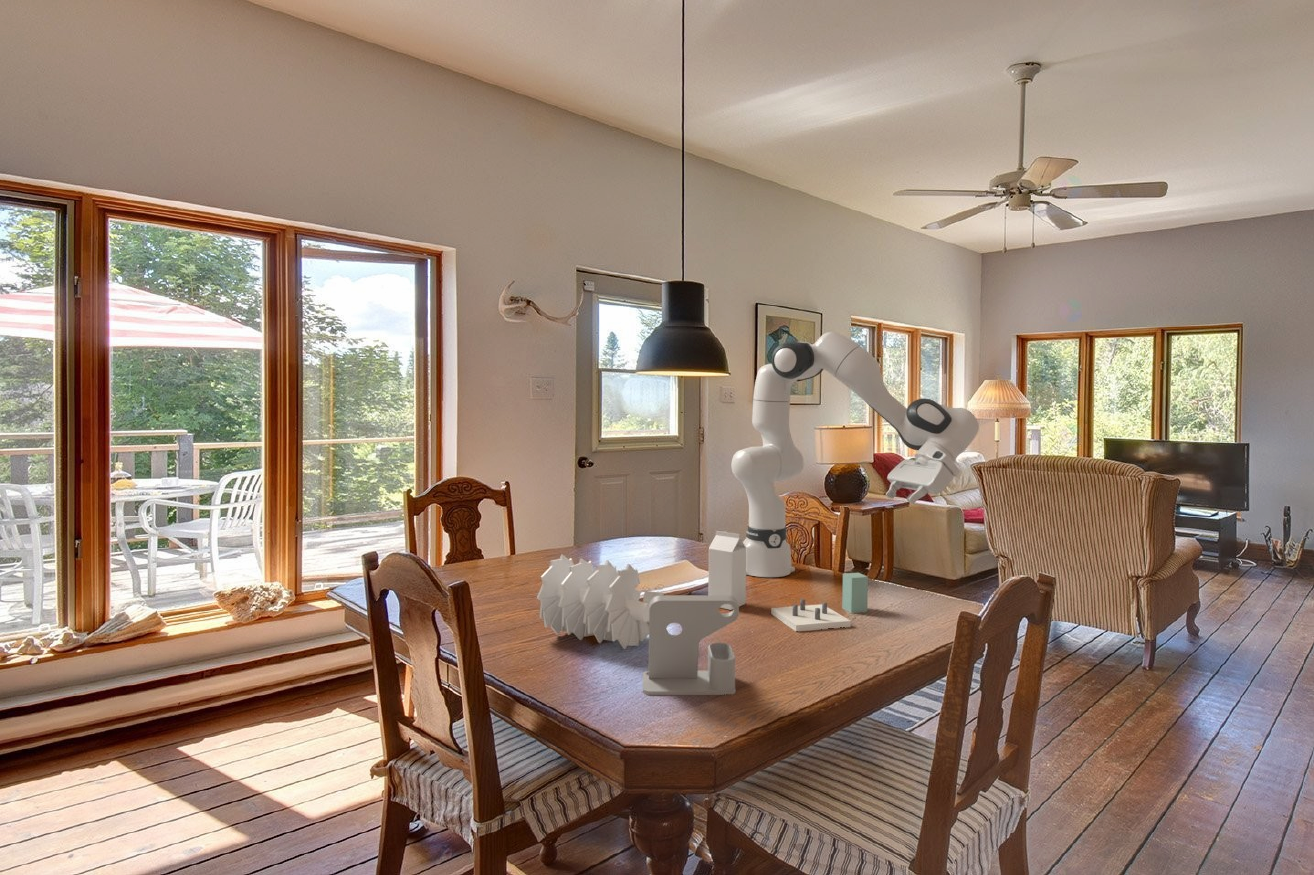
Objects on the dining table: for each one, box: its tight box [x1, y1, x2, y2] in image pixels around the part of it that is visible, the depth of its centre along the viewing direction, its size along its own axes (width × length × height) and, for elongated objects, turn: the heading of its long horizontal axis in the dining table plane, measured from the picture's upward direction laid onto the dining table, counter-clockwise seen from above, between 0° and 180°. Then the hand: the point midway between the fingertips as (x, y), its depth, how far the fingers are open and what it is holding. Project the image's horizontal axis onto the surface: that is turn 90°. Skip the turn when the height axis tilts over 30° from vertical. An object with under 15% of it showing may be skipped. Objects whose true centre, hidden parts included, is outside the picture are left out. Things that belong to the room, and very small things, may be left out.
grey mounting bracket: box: [642, 594, 740, 696], centre depth 136 cm, size 17×10×18 cm, turn 91°
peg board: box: [770, 598, 852, 632], centre depth 176 cm, size 14×14×4 cm
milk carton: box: [707, 530, 747, 611], centre depth 188 cm, size 7×7×19 cm
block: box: [841, 572, 869, 614], centre depth 184 cm, size 4×4×9 cm
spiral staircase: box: [536, 553, 664, 650], centre depth 161 cm, size 18×18×25 cm
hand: (898, 499), depth 188 cm, fingers open, 8 cm apart
